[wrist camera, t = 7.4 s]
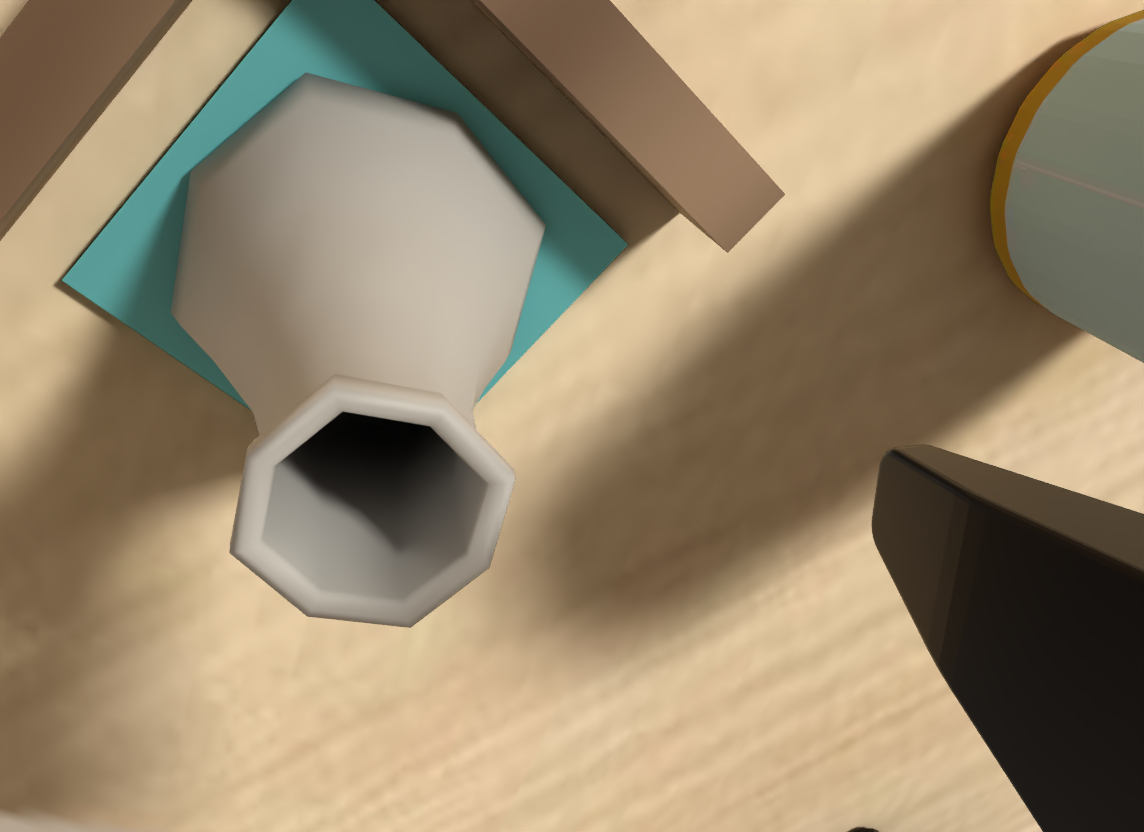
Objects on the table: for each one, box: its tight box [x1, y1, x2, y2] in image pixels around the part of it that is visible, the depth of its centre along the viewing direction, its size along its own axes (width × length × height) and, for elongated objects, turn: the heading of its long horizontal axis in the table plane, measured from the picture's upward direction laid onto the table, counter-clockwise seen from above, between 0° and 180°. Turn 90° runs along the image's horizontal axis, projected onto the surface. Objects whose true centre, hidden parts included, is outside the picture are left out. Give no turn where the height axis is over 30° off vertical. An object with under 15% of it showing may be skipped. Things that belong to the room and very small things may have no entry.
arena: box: [0, 0, 785, 253], centre depth 19 cm, size 11×15×3 cm
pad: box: [62, 0, 628, 411], centre depth 21 cm, size 8×8×1 cm
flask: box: [171, 72, 546, 628], centre depth 16 cm, size 7×7×10 cm
